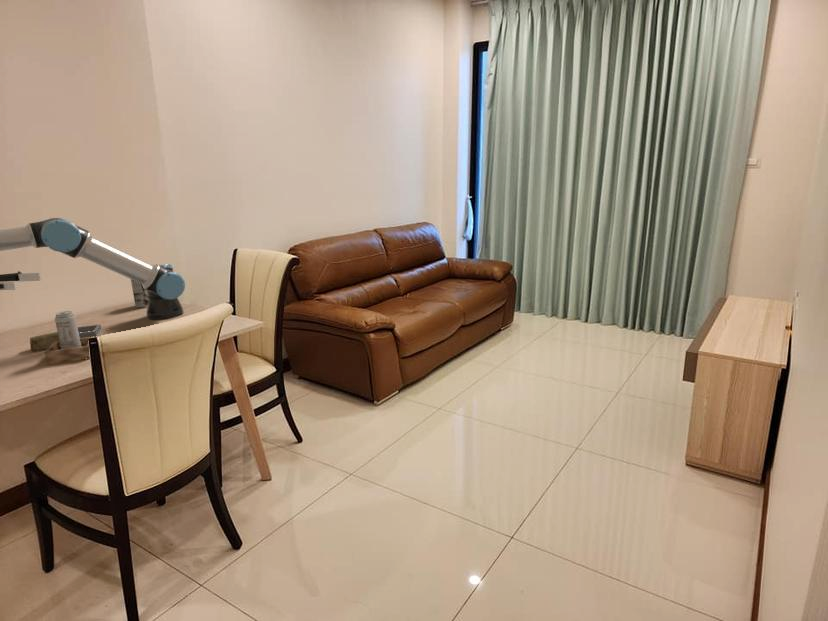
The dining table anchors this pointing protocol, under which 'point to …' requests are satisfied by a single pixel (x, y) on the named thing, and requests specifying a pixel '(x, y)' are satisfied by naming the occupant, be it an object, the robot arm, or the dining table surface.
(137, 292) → the coffee box
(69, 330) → the energy drink can
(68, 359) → the walnut bin
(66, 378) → the dining table surface
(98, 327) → the tray
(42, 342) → the stone block
